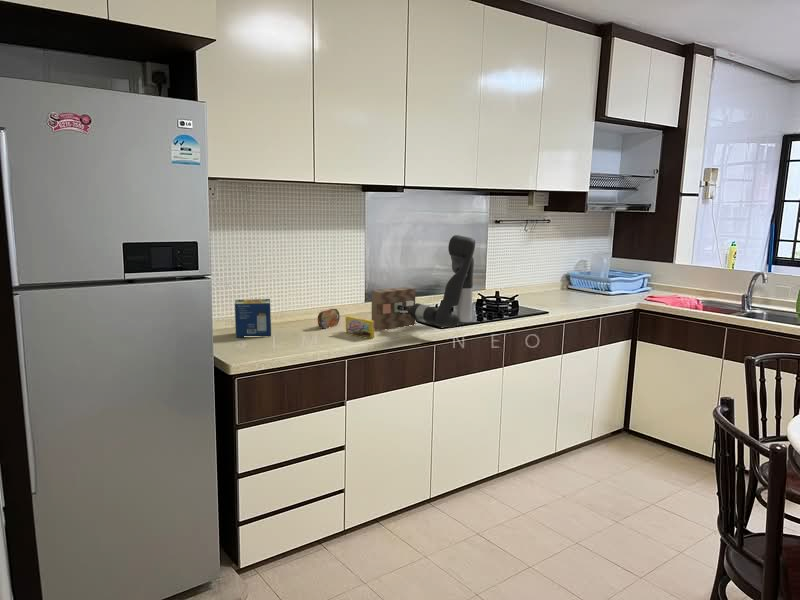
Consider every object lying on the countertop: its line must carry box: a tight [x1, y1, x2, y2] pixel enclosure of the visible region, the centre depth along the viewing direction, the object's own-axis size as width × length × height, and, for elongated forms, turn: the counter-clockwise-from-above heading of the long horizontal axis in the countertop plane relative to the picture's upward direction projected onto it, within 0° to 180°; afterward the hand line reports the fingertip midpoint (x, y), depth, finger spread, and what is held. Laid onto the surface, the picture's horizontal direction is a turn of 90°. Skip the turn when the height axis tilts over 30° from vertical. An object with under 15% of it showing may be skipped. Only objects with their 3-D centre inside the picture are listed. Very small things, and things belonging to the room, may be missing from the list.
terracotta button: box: [382, 303, 391, 314], centre depth 276 cm, size 4×3×4 cm
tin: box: [317, 308, 341, 330], centre depth 282 cm, size 15×3×8 cm, turn 151°
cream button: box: [406, 300, 414, 306], centre depth 285 cm, size 4×3×4 cm
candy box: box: [345, 315, 375, 340], centre depth 263 cm, size 16×2×8 cm, turn 50°
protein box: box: [234, 298, 272, 338], centre depth 263 cm, size 10×15×16 cm
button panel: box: [371, 286, 416, 331], centre depth 283 cm, size 21×7×18 cm, turn 128°
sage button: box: [394, 302, 402, 312], centre depth 281 cm, size 4×3×4 cm
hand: (398, 307), depth 279 cm, fingers closed
